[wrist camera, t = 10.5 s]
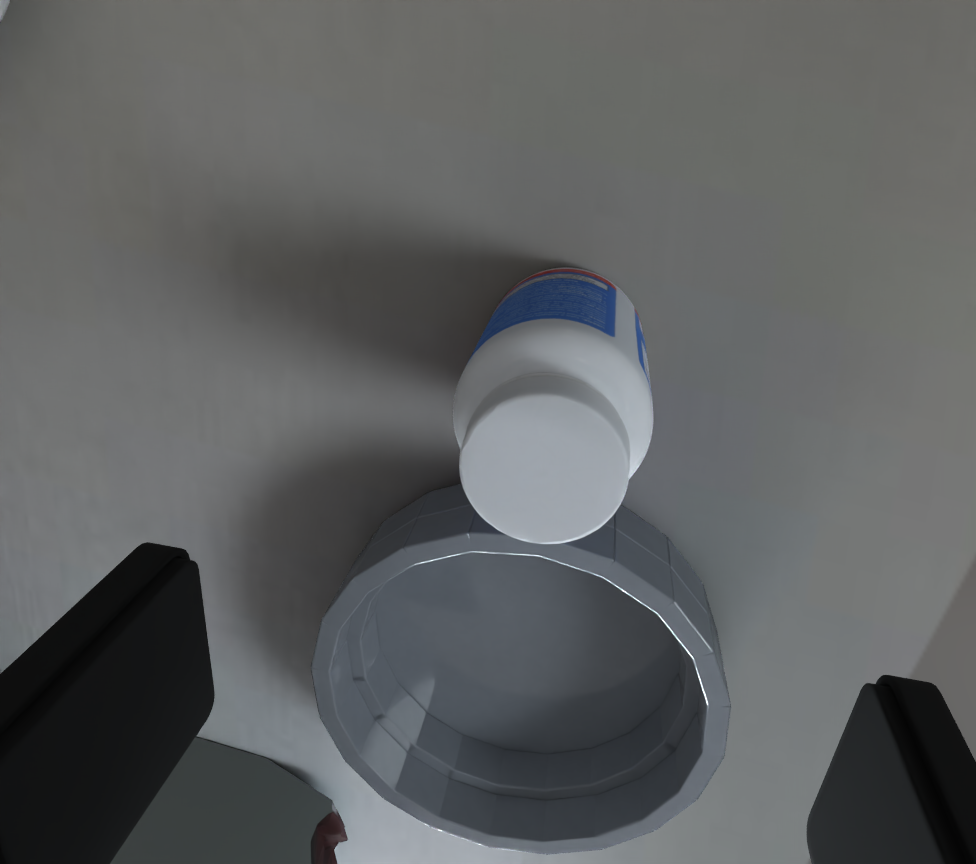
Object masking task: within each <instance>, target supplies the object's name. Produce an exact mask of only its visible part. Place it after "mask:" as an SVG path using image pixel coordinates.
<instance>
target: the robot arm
mask: <svg viewBox="0 0 976 864" xmlns="http://www.w3.org/2000/svg"><path fill="white" fill-rule="evenodd" d="M213 703H214V685H213V677H212V669H211V661H210V653H209V646H208V638H207V630H206V622H205V614H204V607H203V599H202V591H201V583H200V575H199V568H198V565H197V563H196V562H195V561H192V560H190V558H189V554H188V553H187V551H186V550H184V549H182V548H177V547H171V546H165V545H160V544H154V543H149V542H147V543H142V544H141V545H140V546H138V547H137V548H136V549H135V550H134V551H132V552H131V553H130V554H129V555H128V556H127V557H126V558H125V559H124V560H123V561H122V562H121V563H120V564H118V565H117V566H116V567H115V568H114V569H113V570H112V571H111V572H110V573H109V574H108V575H107V576H106V577H104V578H103V579H102V580H101V581H100V582H99V583H98V584H97V585H96V586H95V587H94V588H93V589H92V590H90V591H89V592H88V593H87V594H86V595H85V596H84V597H83V598H82V599H81V600H80V601H79V602H78V603H76V604H75V605H74V606H73V607H72V608H71V609H70V610H69V611H68V612H67V613H66V614H65V615H64V616H62V617H61V618H60V619H59V620H58V621H57V622H56V623H55V624H54V625H53V626H52V627H51V628H50V629H48V630H47V631H46V632H45V633H44V634H43V635H42V636H41V637H40V638H39V639H38V640H37V641H36V642H34V643H33V644H32V645H31V646H30V647H29V648H28V649H27V650H26V651H25V652H24V653H23V654H22V655H20V656H19V657H18V658H17V659H16V660H15V661H14V662H13V663H12V664H11V665H10V666H9V667H8V668H6V669H5V670H4V671H3V672H2V673H1V674H0V864H110V863H111V861H112V860H113V859H114V857H115V856H116V854H117V853H118V851H119V850H120V848H121V847H122V845H123V844H124V842H125V841H126V839H127V838H128V836H129V835H130V833H131V832H132V830H133V829H134V827H135V826H136V824H137V823H138V821H139V820H140V818H141V817H142V815H143V814H144V812H145V811H146V809H147V808H148V807H149V805H150V804H151V802H152V801H153V799H154V798H155V796H156V795H157V793H158V792H159V790H160V789H161V787H162V786H163V784H164V783H165V781H166V780H167V778H168V777H169V775H170V774H171V772H172V771H173V769H174V768H175V766H176V765H177V763H178V762H179V760H180V759H181V757H182V756H183V755H184V753H185V752H186V750H187V749H188V747H189V746H190V744H191V743H192V741H193V740H194V738H195V737H196V735H197V734H198V732H199V731H200V729H201V728H202V726H203V725H204V723H205V722H206V720H207V718H208V717H209V715H210V712H211V710H212V707H213ZM807 844H808V849H809V854H810V858H811V862H812V864H976V762H975V760H974V758H973V756H972V754H971V752H970V750H969V748H968V746H967V744H966V742H965V740H964V738H963V736H962V734H961V732H960V730H959V728H958V726H957V724H956V723H955V720H954V718H953V716H952V714H951V712H950V710H949V708H948V706H947V704H946V702H945V700H944V698H943V696H942V694H941V693H940V691H939V690H938V688H937V687H936V686H935V685H934V684H932V683H929V682H923V681H918V680H913V679H907V678H901V677H896V676H890V675H883V676H881V677H880V678H879V679H878V681H877V682H876V684H870V683H866V684H865V685H864V686H863V687H862V689H861V691H860V693H859V696H858V698H857V701H856V703H855V706H854V708H853V710H852V713H851V715H850V718H849V720H848V722H847V725H846V727H845V730H844V732H843V734H842V737H841V739H840V742H839V744H838V747H837V749H836V751H835V754H834V756H833V759H832V761H831V763H830V766H829V768H828V771H827V773H826V775H825V778H824V780H823V783H822V785H821V788H820V790H819V792H818V795H817V797H816V800H815V802H814V804H813V807H812V809H811V812H810V814H809V817H808V822H807Z"/></svg>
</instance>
